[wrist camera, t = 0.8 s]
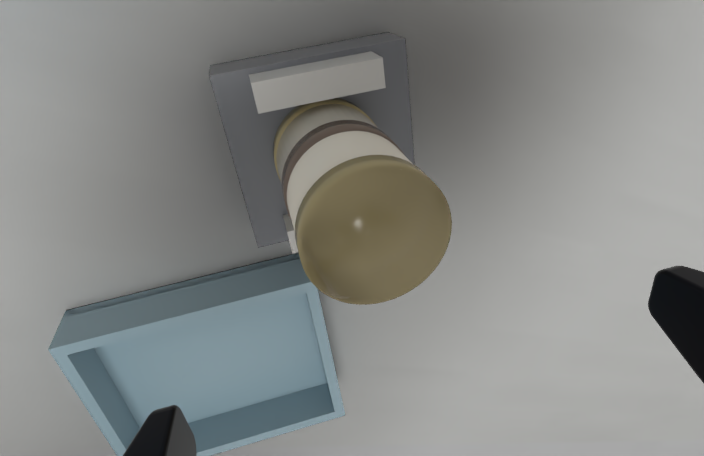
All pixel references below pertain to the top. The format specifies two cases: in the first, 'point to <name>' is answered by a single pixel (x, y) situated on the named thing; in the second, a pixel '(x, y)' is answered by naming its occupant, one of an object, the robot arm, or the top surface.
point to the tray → (206, 357)
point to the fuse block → (298, 89)
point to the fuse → (357, 204)
